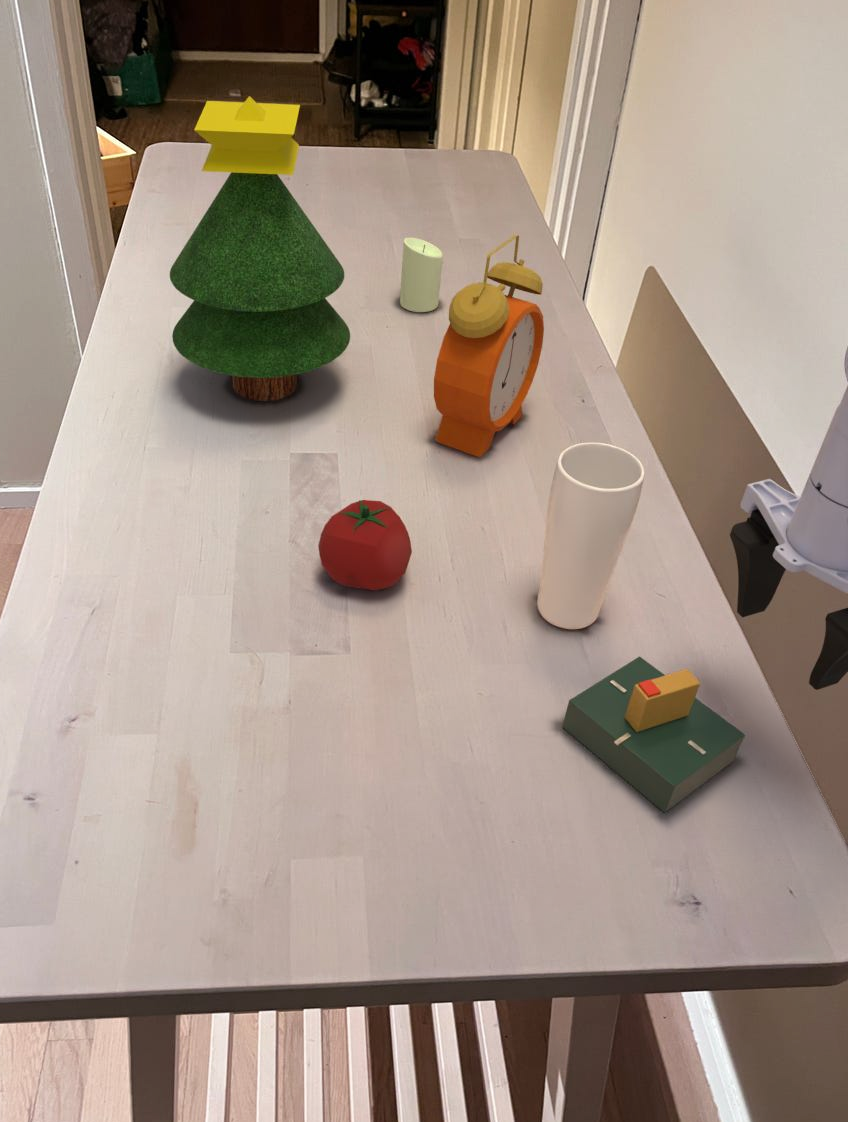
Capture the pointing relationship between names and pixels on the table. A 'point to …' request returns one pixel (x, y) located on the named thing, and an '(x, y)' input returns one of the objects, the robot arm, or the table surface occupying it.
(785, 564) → the robot arm
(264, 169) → the decorative tree
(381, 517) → the tomato
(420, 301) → the candle
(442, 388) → the alarm clock
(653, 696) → the yellow block
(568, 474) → the drinking glass
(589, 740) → the knob panel
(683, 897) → the table surface
